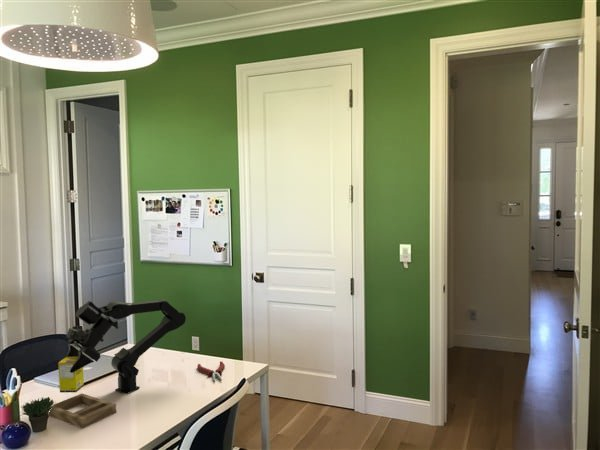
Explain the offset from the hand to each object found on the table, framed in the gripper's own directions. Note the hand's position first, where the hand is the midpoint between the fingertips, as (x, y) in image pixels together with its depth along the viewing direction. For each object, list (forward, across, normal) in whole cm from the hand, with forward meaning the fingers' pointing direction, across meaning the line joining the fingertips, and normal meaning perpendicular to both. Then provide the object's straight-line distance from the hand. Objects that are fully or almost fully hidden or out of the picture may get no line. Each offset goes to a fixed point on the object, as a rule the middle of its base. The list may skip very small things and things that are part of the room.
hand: (66, 369), depth 169 cm
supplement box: (+5, 0, +7) cm, 8 cm away
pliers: (-27, +6, +48) cm, 56 cm away
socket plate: (+8, +11, +10) cm, 17 cm away
